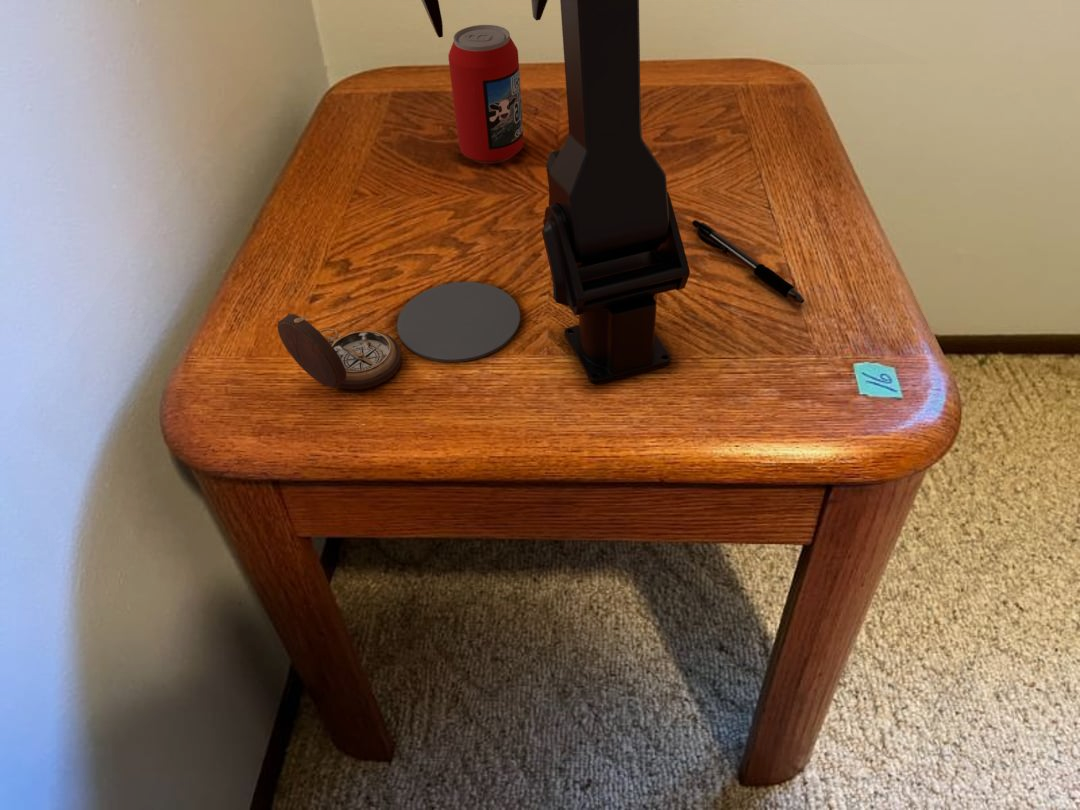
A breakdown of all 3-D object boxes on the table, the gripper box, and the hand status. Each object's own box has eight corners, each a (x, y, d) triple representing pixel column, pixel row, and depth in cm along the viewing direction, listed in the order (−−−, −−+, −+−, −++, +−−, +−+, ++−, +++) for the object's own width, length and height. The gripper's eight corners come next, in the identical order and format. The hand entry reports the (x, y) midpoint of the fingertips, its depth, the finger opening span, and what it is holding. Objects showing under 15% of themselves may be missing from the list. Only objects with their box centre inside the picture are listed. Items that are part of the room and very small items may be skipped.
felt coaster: (536, 343, 67) (536, 340, 67) (412, 375, 65) (411, 372, 65) (500, 273, 74) (499, 271, 73) (386, 300, 72) (385, 297, 71)
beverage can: (516, 170, 86) (508, 51, 78) (452, 166, 87) (437, 48, 79) (530, 138, 91) (523, 23, 82) (469, 134, 92) (456, 20, 84)
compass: (419, 358, 66) (405, 282, 61) (342, 416, 62) (320, 340, 57) (351, 320, 70) (332, 245, 65) (274, 372, 66) (247, 297, 61)
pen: (683, 231, 77) (684, 220, 76) (698, 225, 77) (699, 214, 77) (791, 312, 68) (793, 300, 67) (806, 304, 69) (809, 293, 68)
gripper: (550, -209, 74) (555, -18, 85) (336, -183, 70) (370, 13, 81) (598, -184, 66) (596, 22, 77) (360, -154, 62) (395, 58, 73)
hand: (488, 27), depth 77 cm, fingers open, 9 cm apart
